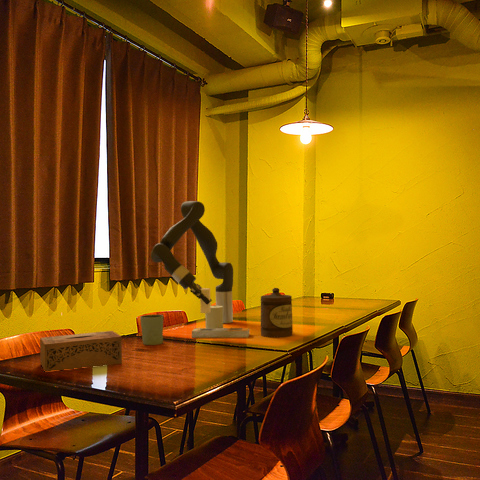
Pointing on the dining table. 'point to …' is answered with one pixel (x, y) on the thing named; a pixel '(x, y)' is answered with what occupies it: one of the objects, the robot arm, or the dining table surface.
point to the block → (204, 307)
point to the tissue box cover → (80, 350)
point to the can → (214, 317)
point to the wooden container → (276, 315)
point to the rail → (220, 333)
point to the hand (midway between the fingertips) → (209, 302)
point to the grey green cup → (152, 329)
